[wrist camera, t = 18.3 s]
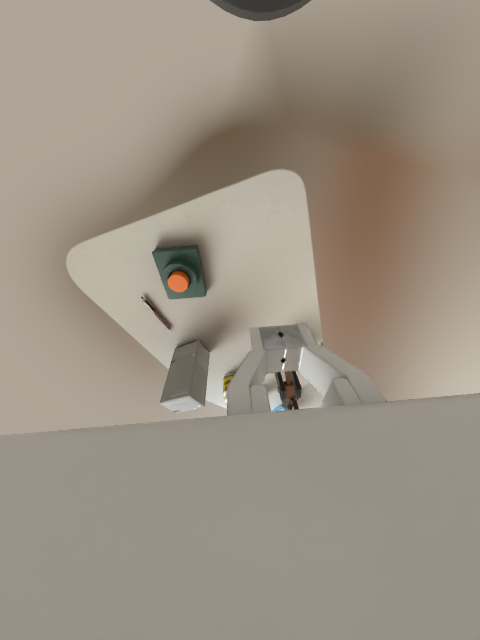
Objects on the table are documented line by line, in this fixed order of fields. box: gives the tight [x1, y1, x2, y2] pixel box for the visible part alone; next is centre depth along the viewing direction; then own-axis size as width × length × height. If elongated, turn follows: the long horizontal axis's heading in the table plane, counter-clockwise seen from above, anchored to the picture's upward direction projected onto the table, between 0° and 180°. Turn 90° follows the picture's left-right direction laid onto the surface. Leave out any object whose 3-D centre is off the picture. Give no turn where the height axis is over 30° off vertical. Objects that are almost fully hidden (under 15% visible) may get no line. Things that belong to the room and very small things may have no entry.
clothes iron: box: [282, 393, 299, 410], centre depth 71 cm, size 7×11×10 cm, turn 1°
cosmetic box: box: [160, 340, 210, 413], centre depth 47 cm, size 8×7×16 cm
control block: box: [152, 245, 207, 299], centre depth 36 cm, size 10×8×4 cm
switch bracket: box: [275, 371, 302, 400], centre depth 51 cm, size 11×9×13 cm
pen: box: [141, 297, 172, 331], centre depth 43 cm, size 11×1×1 cm, turn 22°
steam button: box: [168, 271, 189, 292], centre depth 34 cm, size 4×4×2 cm
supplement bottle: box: [223, 373, 235, 403], centre depth 58 cm, size 5×5×8 cm
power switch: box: [284, 371, 295, 396], centre depth 47 cm, size 13×5×2 cm, turn 8°
